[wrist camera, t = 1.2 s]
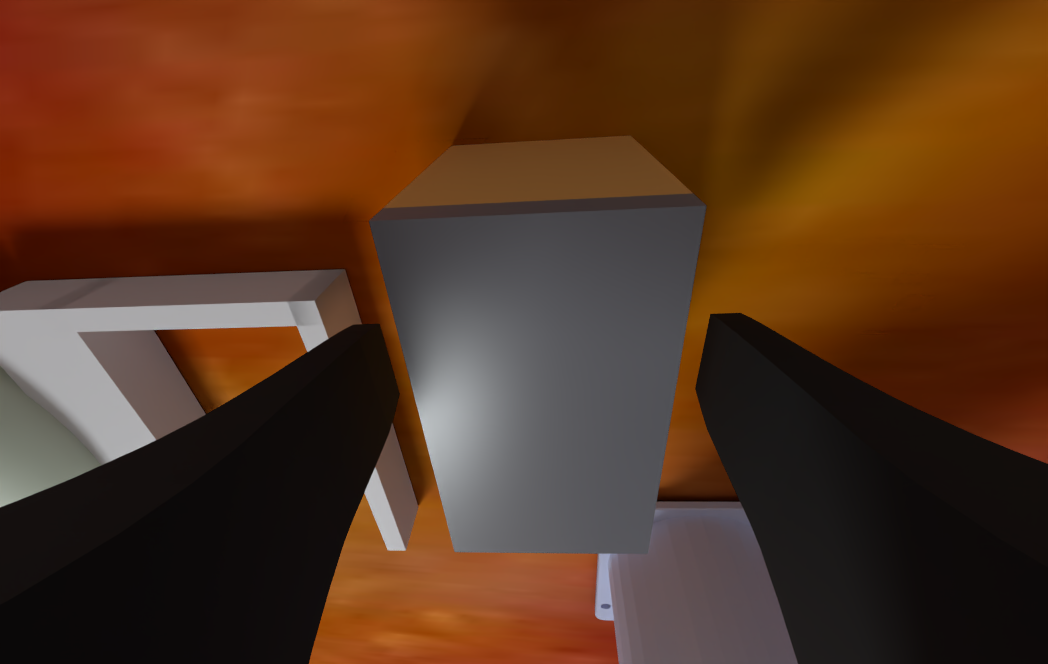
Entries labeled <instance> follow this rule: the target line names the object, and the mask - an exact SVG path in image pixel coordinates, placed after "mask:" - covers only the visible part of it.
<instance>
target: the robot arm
mask: <svg viewBox="0 0 1048 664" xmlns="http://www.w3.org/2000/svg"><path fill="white" fill-rule="evenodd" d="M695 389H696V393H697V396H698V400H699V403H700V407H701V411H702V414H703V417H704V420H705V424H706V427H707V430H708V432H709V434H710V437H711V439H712V441H713V443H714V446H715V448H716V450H717V452H718V454H719V457H720V459H721V461H722V463H723V466H724V468H725V470H726V472H727V474H728V476H729V479H730V481H731V483H732V485H733V487H734V489H735V492H736V494H737V496H738V498H739V500H740V502H674V501H657V502H656V508H655V514H654V520H653V526H652V532H651V538H650V544H649V550H648V554H598V562H597V579H596V597H595V615H596V617H597V618H598V619H601V620H614V625H615V634H616V642H617V651H618V659H619V664H1048V464H1046V463H1044V462H1041V461H1039V460H1036V459H1033V458H1031V457H1028V456H1026V455H1023V454H1020V453H1018V452H1015V451H1013V450H1010V449H1008V448H1005V447H1003V446H1000V445H998V444H996V443H993V442H991V441H988V440H986V439H983V438H981V437H979V436H976V435H974V434H972V433H969V432H967V431H965V430H963V429H961V428H958V427H956V426H954V425H952V424H949V423H947V422H945V421H943V420H940V419H938V418H936V417H934V416H932V415H929V414H927V413H925V412H923V411H920V410H918V409H916V408H914V407H912V406H910V405H908V404H906V403H904V402H902V401H900V400H898V399H896V398H894V397H892V396H890V395H888V394H886V393H884V392H882V391H880V390H878V389H876V388H874V387H873V386H871V385H869V384H867V383H865V382H863V381H861V380H859V379H857V378H855V377H853V376H852V375H850V374H848V373H846V372H844V371H843V370H841V369H839V368H837V367H835V366H834V365H832V364H830V363H828V362H826V361H825V360H823V359H821V358H819V357H818V356H816V355H814V354H813V353H811V352H809V351H807V350H806V349H804V348H802V347H801V346H799V345H797V344H795V343H794V342H792V341H790V340H789V339H787V338H785V337H784V336H782V335H780V334H778V333H777V332H775V331H773V330H772V329H770V328H768V327H766V326H765V325H763V324H761V323H759V322H757V321H756V320H754V319H752V318H750V317H748V316H746V315H744V314H741V313H725V314H710V319H709V324H708V329H707V334H706V339H705V344H704V349H703V354H702V358H701V363H700V368H699V373H698V378H697V383H696V388H695ZM399 394H400V393H399V390H398V386H397V383H396V379H395V376H394V372H393V369H392V365H391V362H390V358H389V355H388V351H387V348H386V344H385V341H384V337H383V334H382V330H381V327H380V324H354V325H351V326H349V327H347V328H345V329H344V330H342V331H340V332H338V333H337V334H335V335H333V336H332V337H330V338H329V339H327V340H326V341H324V342H322V343H321V344H319V345H318V346H316V347H315V348H313V349H312V350H310V351H309V352H307V353H305V354H304V355H302V356H301V357H299V358H298V359H296V360H295V361H293V362H292V363H290V364H288V365H287V366H285V367H284V368H282V369H281V370H279V371H278V372H276V373H275V374H273V375H271V376H270V377H268V378H266V379H265V380H263V381H262V382H260V383H258V384H257V385H255V386H253V387H252V388H250V389H248V390H247V391H245V392H243V393H242V394H240V395H238V396H237V397H235V398H233V399H232V400H230V401H228V402H227V403H225V404H223V405H222V406H220V407H218V408H216V409H215V410H213V411H211V412H209V413H207V414H206V415H204V416H202V417H200V418H198V419H196V420H195V421H193V422H191V423H189V424H187V425H185V426H183V427H181V428H179V429H177V430H175V431H173V432H171V433H169V434H167V435H165V436H163V437H162V438H160V439H158V440H155V441H153V442H151V443H149V444H147V445H145V446H143V447H141V448H139V449H136V450H134V451H132V452H130V453H128V454H125V455H123V456H121V457H119V458H116V459H114V460H112V461H110V462H108V463H105V464H103V465H101V466H99V467H96V468H94V469H92V470H90V471H88V472H85V473H83V474H81V475H79V476H77V477H74V478H72V479H70V480H67V481H65V482H62V483H60V484H58V485H55V486H53V487H50V488H48V489H45V490H43V491H40V492H38V493H35V494H33V495H30V496H28V497H26V498H23V499H21V500H18V501H15V502H13V503H10V504H8V505H5V506H2V507H0V664H309V660H310V656H311V652H312V648H313V645H314V641H315V638H316V634H317V631H318V627H319V624H320V620H321V616H322V613H323V609H324V606H325V602H326V599H327V595H328V592H329V589H330V585H331V582H332V579H333V576H334V573H335V569H336V566H337V563H338V560H339V557H340V553H341V550H342V547H343V544H344V541H345V539H346V536H347V533H348V531H349V528H350V525H351V523H352V520H353V518H354V516H355V513H356V511H357V509H358V506H359V504H360V502H361V499H362V497H363V495H364V492H365V490H366V488H367V485H368V483H369V481H370V478H371V476H372V473H373V471H374V469H375V466H376V464H377V462H378V459H379V457H380V454H381V452H382V450H383V447H384V445H385V442H386V440H387V437H388V435H389V432H390V429H391V425H392V422H393V418H394V415H395V411H396V407H397V402H398V398H399Z"/></svg>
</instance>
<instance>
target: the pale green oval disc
mask: <svg viewBox="0 0 1048 664" xmlns="http://www.w3.org/2000/svg"><path fill="white" fill-rule="evenodd" d="M354 324H362V323H361V319H360V316H359V313H358V310H357V306H356V303H355V300H354V297H353V293H352V290H351V287H350V284H349V281H348V277H347V274H346V271H345V269H335V270H308V271H282V272H255V273H229V274H202V275H176V276H149V277H123V278H96V279H70V280H43V281H25V282H23V283H21V284H18V285H16V286H14V287H11V288H9V289H7V290H4V291H2V292H0V507H2V506H5V505H8V504H10V503H13V502H15V501H18V500H21V499H23V498H26V497H28V496H30V495H33V494H35V493H38V492H40V491H43V490H45V489H48V488H50V487H53V486H55V485H58V484H60V483H62V482H65V481H67V480H70V479H72V478H74V477H77V476H79V475H81V474H83V473H85V472H88V471H90V470H92V469H94V468H96V467H99V466H101V465H103V464H105V463H108V462H110V461H112V460H114V459H116V458H119V457H121V456H123V455H125V454H128V453H130V452H132V451H134V450H136V449H139V448H141V447H143V446H145V445H147V444H149V443H151V442H153V441H155V440H158V439H160V438H162V437H163V436H165V435H167V434H169V433H171V432H173V431H175V430H177V429H179V428H181V427H183V426H185V425H187V424H189V423H191V422H193V421H195V420H196V419H198V418H200V417H202V416H204V415H206V414H205V412H204V410H203V409H202V407H201V406H200V404H199V402H198V401H197V399H196V398H195V396H194V394H193V393H192V391H191V389H190V388H189V386H188V385H187V383H186V381H185V380H184V378H183V377H182V375H181V373H180V372H179V370H178V369H177V367H176V365H175V364H174V362H173V360H172V359H171V357H170V356H169V354H168V352H167V351H166V349H165V348H164V346H163V344H162V343H161V341H160V339H159V338H158V336H157V335H156V333H155V331H154V330H168V329H204V328H239V327H275V326H297V327H298V330H299V332H300V335H301V337H302V340H303V342H304V344H305V347H306V349H307V352H309V351H310V350H312V349H313V348H315V347H316V346H318V345H319V344H321V343H322V342H324V341H326V340H327V339H329V338H330V337H332V336H333V335H335V334H337V333H338V332H340V331H342V330H344V329H345V328H347V327H349V326H351V325H354ZM364 493H365V495H366V498H367V500H368V502H369V505H370V507H371V510H372V512H373V515H374V517H375V520H376V522H377V525H378V527H379V530H380V532H381V535H382V537H383V539H384V542H385V544H386V547H387V549H388V550H406V548H407V545H408V541H409V538H410V534H411V531H412V527H413V524H414V521H415V517H416V514H417V510H418V504H417V501H416V498H415V494H414V491H413V488H412V485H411V481H410V478H409V475H408V472H407V468H406V465H405V462H404V459H403V456H402V452H401V449H400V446H399V443H398V439H397V436H396V433H395V430H394V426H393V423H392V425H391V429H390V432H389V435H388V437H387V440H386V442H385V445H384V447H383V450H382V452H381V454H380V457H379V459H378V462H377V464H376V466H375V469H374V471H373V473H372V476H371V478H370V481H369V483H368V485H367V488H366V490H365V492H364Z"/></svg>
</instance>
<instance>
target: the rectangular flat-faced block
mask: <svg viewBox="0 0 1048 664" xmlns="http://www.w3.org/2000/svg"><path fill="white" fill-rule="evenodd" d="M705 211H706V205H705V204H704V203H703V202H702V201H701V200H700V199H699V198H698V197H697V196H695V195H694V194H693V193H692V192H691V191H690V190H689V189H688V188H687V187H686V186H685V185H684V184H682V183H681V182H680V181H679V180H678V179H677V178H676V177H675V176H674V175H673V174H672V173H671V172H669V171H668V170H667V169H666V168H665V167H664V166H663V165H662V164H661V163H660V162H659V161H658V160H657V159H655V158H654V157H653V156H652V155H651V154H650V153H649V152H648V151H647V150H646V149H645V148H644V147H642V146H641V145H640V144H639V143H638V142H637V141H636V140H635V139H634V138H633V137H632V136H631V135H628V136H611V137H594V138H576V139H559V140H542V141H525V142H507V143H490V144H473V145H455V146H451V147H450V148H449V149H447V150H446V151H445V152H444V153H443V154H442V155H441V156H440V157H439V158H438V159H437V160H435V161H434V162H433V163H432V164H431V165H430V166H429V167H428V168H427V169H426V170H424V171H423V172H422V173H421V174H420V175H419V176H418V177H417V178H416V179H415V180H414V181H412V182H411V183H410V184H409V185H408V186H407V187H406V188H405V189H404V190H403V191H401V192H400V193H399V194H398V195H397V196H396V197H395V198H394V199H393V200H392V201H390V202H389V203H388V204H387V205H386V206H385V207H384V208H383V209H382V210H381V211H380V212H378V213H377V214H376V215H375V216H374V217H373V218H372V219H371V220H370V221H369V223H370V227H371V231H372V235H373V239H374V243H375V247H376V250H377V254H378V258H379V262H380V266H381V270H382V274H383V277H384V281H385V285H386V289H387V293H388V297H389V300H390V304H391V308H392V312H393V316H394V320H395V324H396V327H397V331H398V335H399V339H400V343H401V347H402V351H403V354H404V358H405V362H406V366H407V370H408V374H409V378H410V381H411V385H412V389H413V393H414V397H415V401H416V405H417V408H418V412H419V416H420V420H421V424H422V428H423V432H424V435H425V439H426V443H427V447H428V451H429V455H430V459H431V462H432V466H433V470H434V474H435V478H436V482H437V486H438V489H439V493H440V497H441V501H442V505H443V509H444V513H445V516H446V520H447V524H448V528H449V532H450V536H451V539H452V543H453V547H454V551H455V552H500V553H593V554H648V550H649V544H650V538H651V532H652V526H653V520H654V514H655V508H656V502H657V496H658V490H659V485H660V479H661V473H662V467H663V461H664V455H665V449H666V443H667V437H668V431H669V425H670V419H671V413H672V407H673V401H674V395H675V390H676V384H677V378H678V372H679V366H680V360H681V354H682V348H683V342H684V336H685V330H686V324H687V318H688V312H689V306H690V301H691V295H692V289H693V283H694V277H695V271H696V265H697V259H698V253H699V247H700V241H701V235H702V229H703V223H704V217H705Z"/></svg>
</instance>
